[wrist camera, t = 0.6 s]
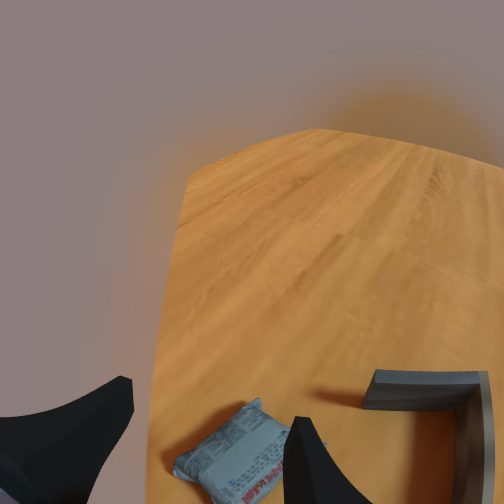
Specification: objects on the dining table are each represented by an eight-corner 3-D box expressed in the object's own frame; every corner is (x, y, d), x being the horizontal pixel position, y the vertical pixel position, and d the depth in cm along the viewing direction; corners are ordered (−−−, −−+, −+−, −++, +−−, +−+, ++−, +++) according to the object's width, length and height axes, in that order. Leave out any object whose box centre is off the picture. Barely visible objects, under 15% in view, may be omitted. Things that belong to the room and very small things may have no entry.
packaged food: (324, 451, 23) (328, 437, 20) (236, 533, 17) (224, 533, 14) (259, 405, 29) (253, 383, 26) (175, 474, 22) (156, 462, 19)
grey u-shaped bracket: (451, 556, 9) (483, 555, 6) (327, 565, 13) (335, 574, 9) (463, 398, 23) (487, 370, 20) (364, 397, 27) (375, 369, 23)
